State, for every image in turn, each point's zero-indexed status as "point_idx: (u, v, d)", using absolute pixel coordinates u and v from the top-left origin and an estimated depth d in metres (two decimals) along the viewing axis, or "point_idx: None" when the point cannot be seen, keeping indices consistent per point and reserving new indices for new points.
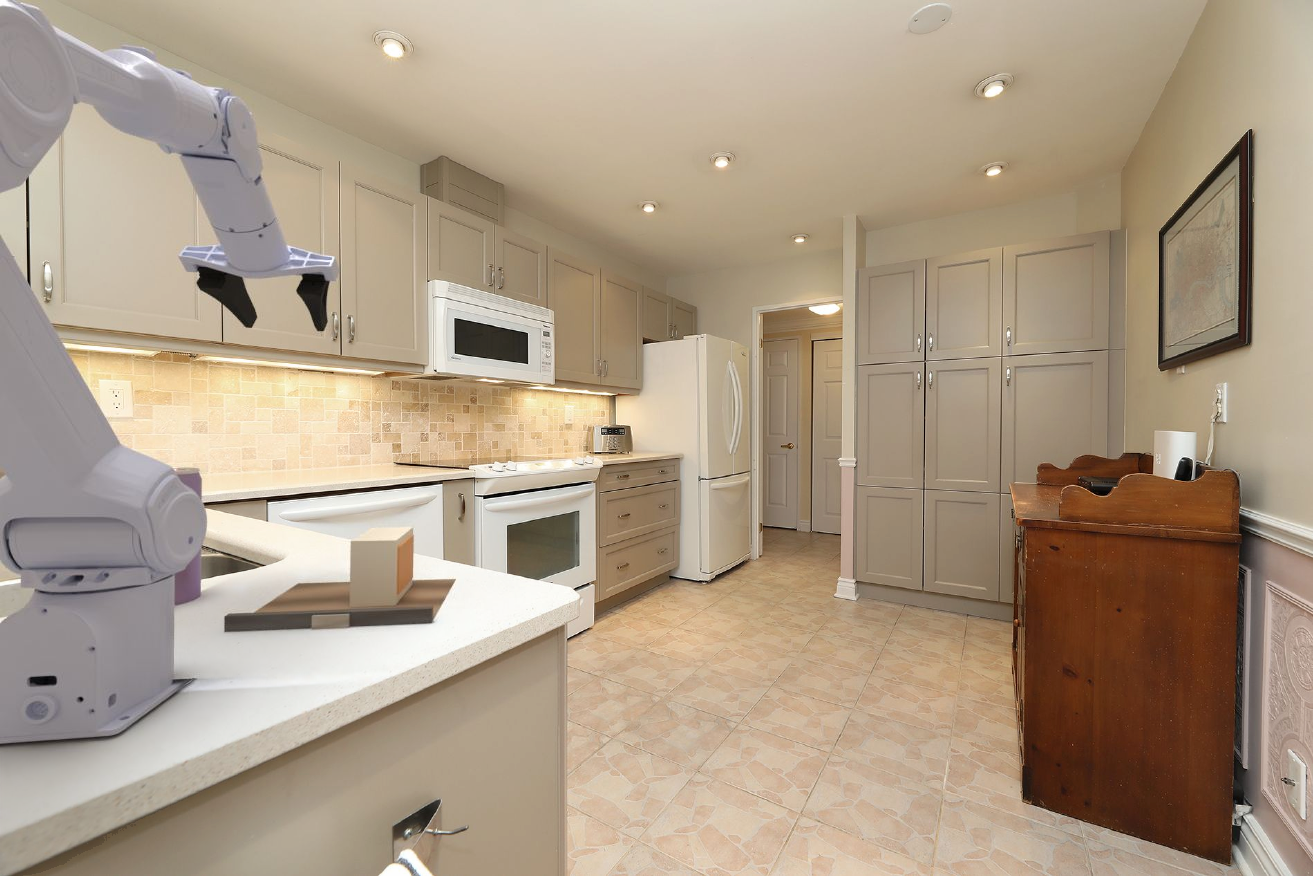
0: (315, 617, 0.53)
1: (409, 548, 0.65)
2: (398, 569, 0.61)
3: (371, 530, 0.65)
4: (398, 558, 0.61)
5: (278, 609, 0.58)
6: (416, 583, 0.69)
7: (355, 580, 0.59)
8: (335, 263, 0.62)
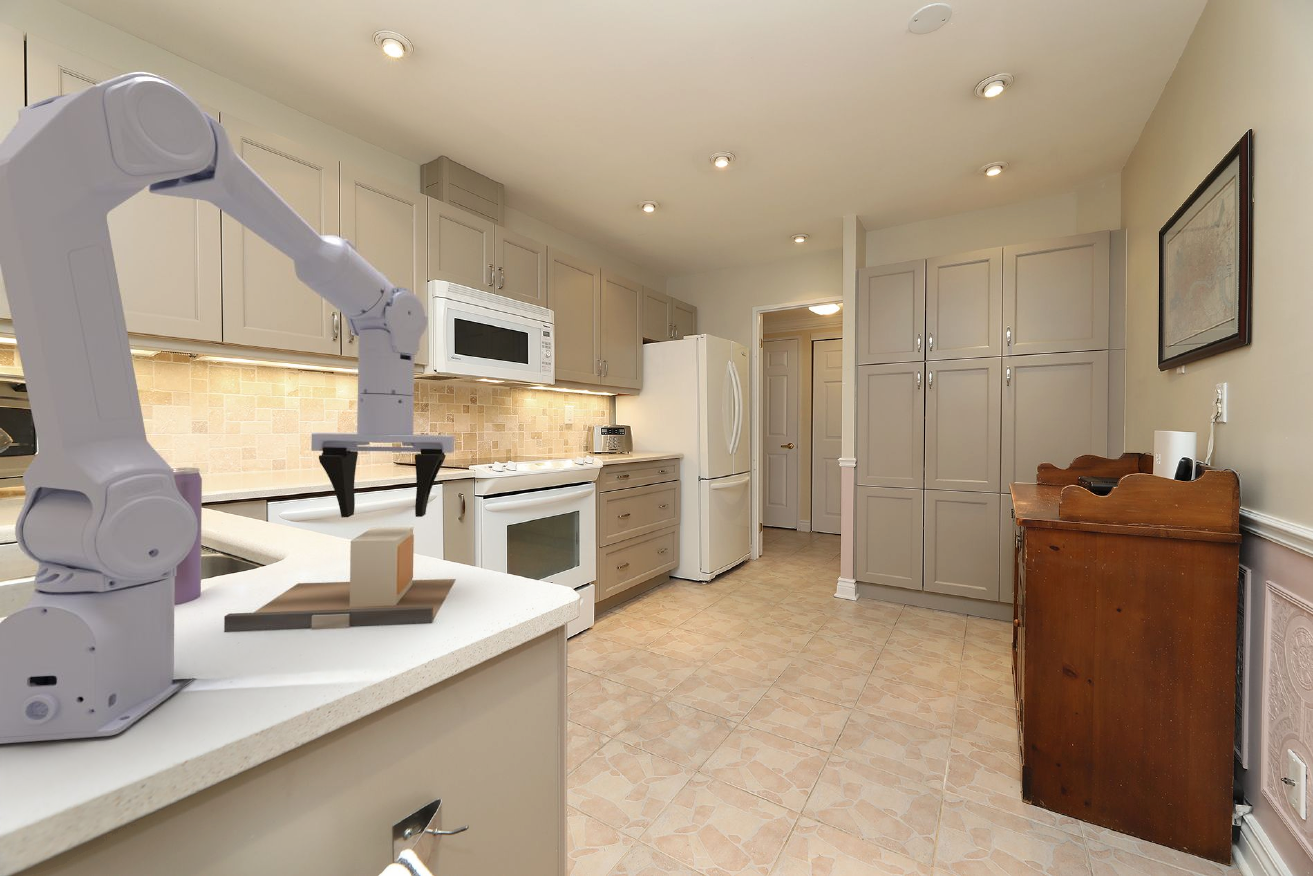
0: (315, 617, 0.53)
1: (409, 548, 0.65)
2: (398, 569, 0.61)
3: (371, 530, 0.65)
4: (398, 558, 0.61)
5: (278, 609, 0.58)
6: (416, 583, 0.69)
7: (355, 580, 0.59)
8: None
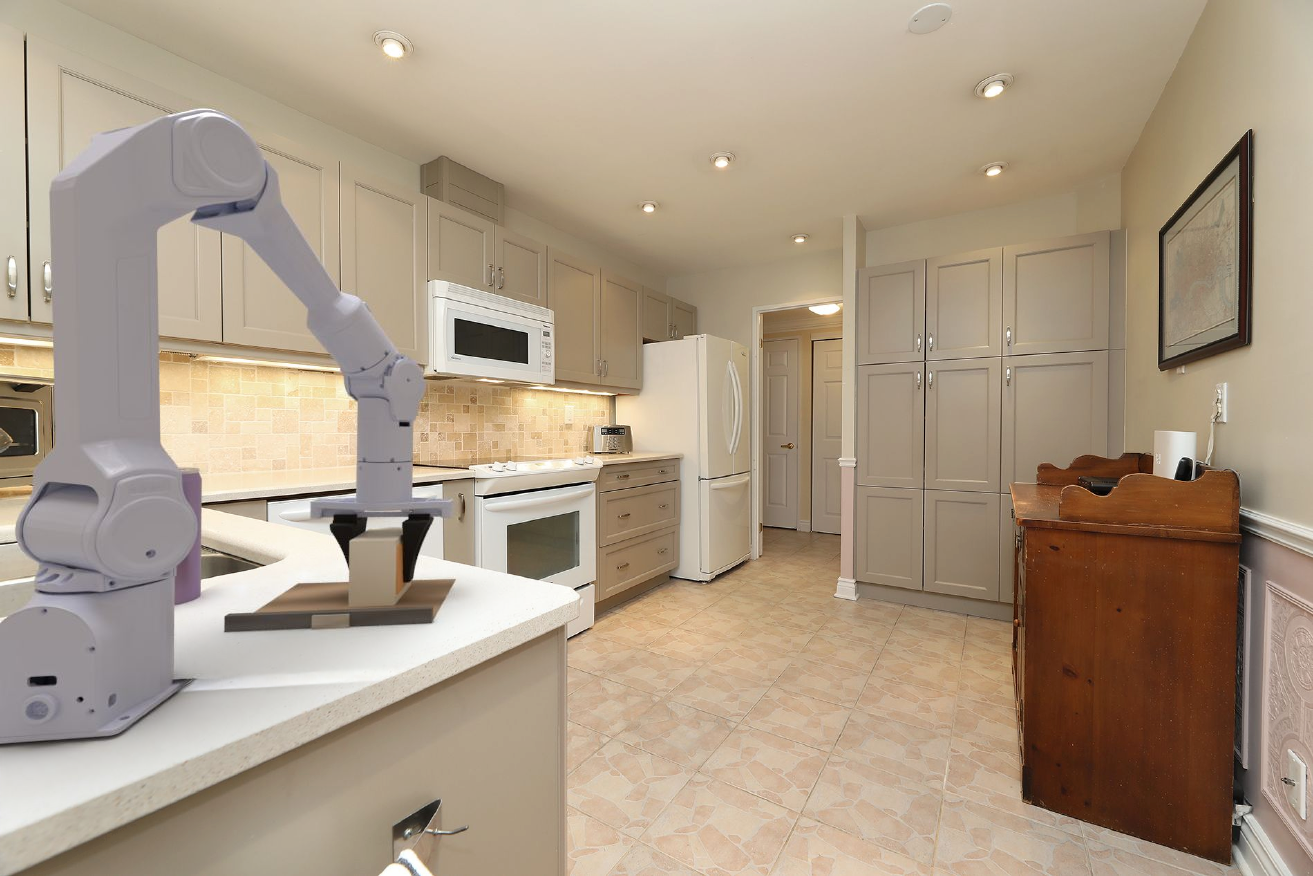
0: (315, 617, 0.53)
1: None
2: (397, 569, 0.61)
3: (370, 530, 0.65)
4: (397, 558, 0.61)
5: (278, 609, 0.58)
6: (416, 583, 0.69)
7: (354, 580, 0.59)
8: (452, 504, 0.65)
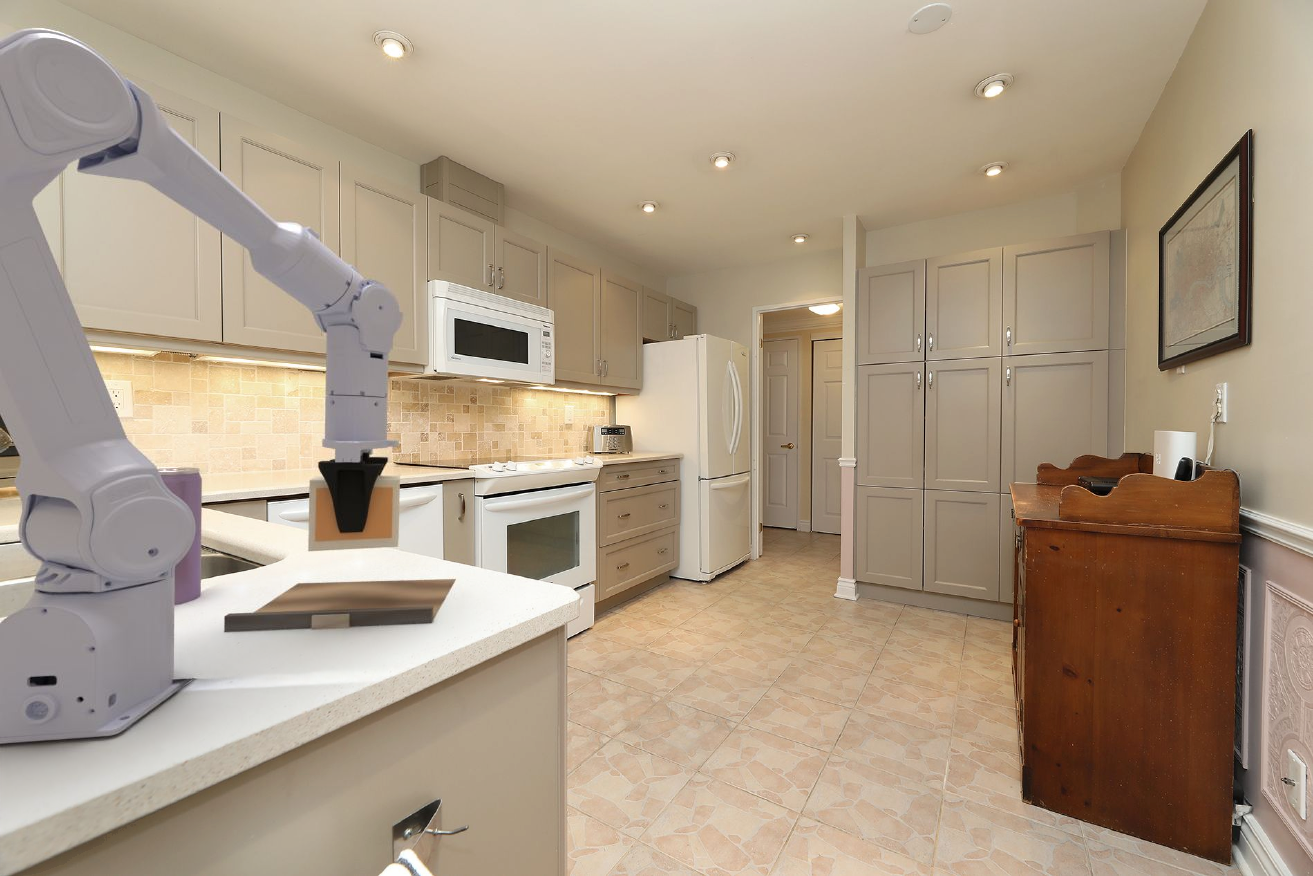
0: (315, 617, 0.53)
1: None
2: (316, 513, 0.55)
3: (378, 476, 0.61)
4: (316, 501, 0.55)
5: (278, 609, 0.58)
6: (416, 583, 0.69)
7: None
8: (352, 447, 0.52)
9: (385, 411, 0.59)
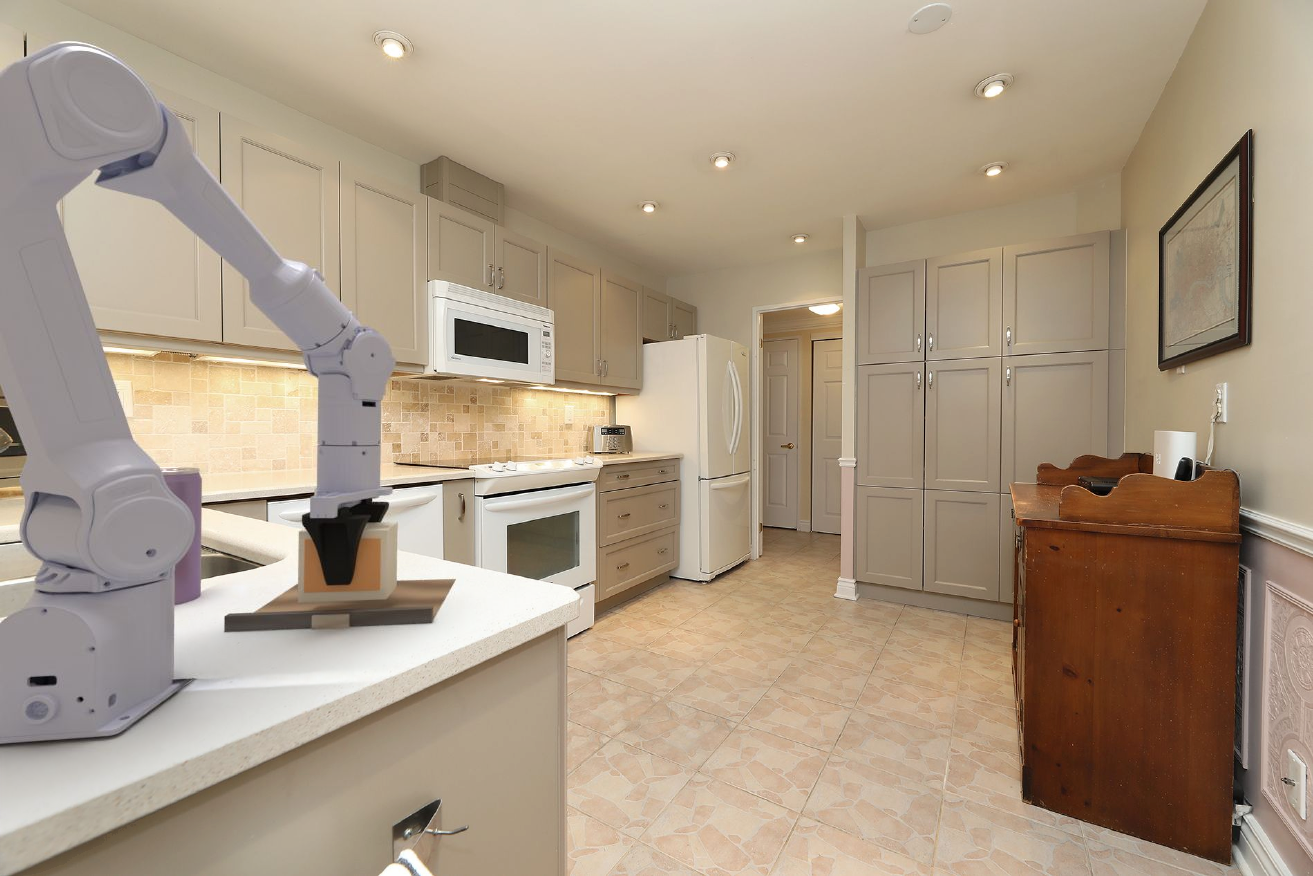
0: (315, 617, 0.53)
1: None
2: (305, 565, 0.55)
3: (375, 523, 0.60)
4: (304, 552, 0.55)
5: (278, 609, 0.58)
6: (416, 583, 0.69)
7: None
8: (326, 502, 0.51)
9: (376, 459, 0.57)
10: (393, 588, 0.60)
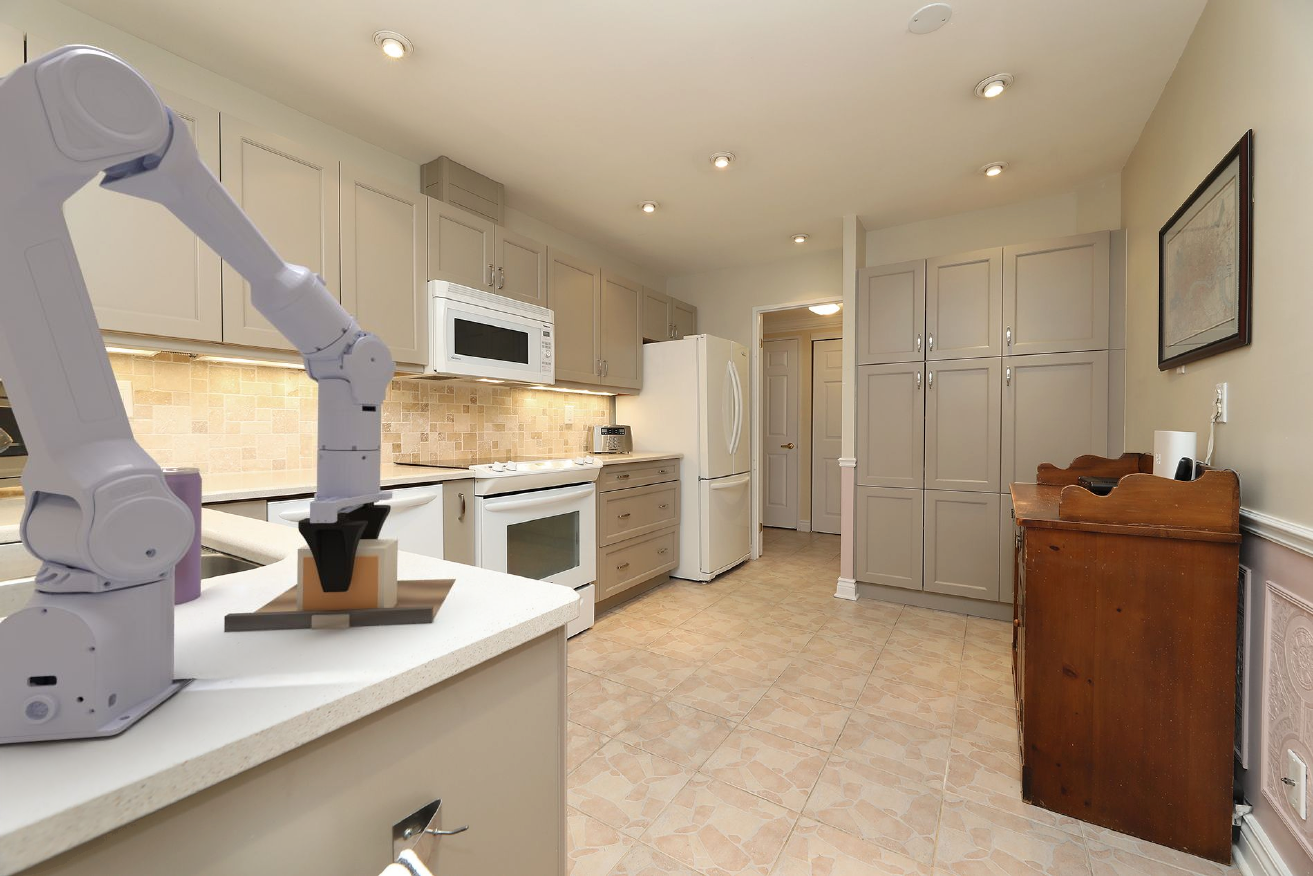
0: (315, 617, 0.53)
1: (354, 569, 0.56)
2: (303, 582, 0.55)
3: (375, 540, 0.60)
4: (303, 570, 0.55)
5: (278, 609, 0.58)
6: (416, 583, 0.69)
7: None
8: (326, 507, 0.51)
9: (376, 464, 0.57)
10: (392, 605, 0.60)
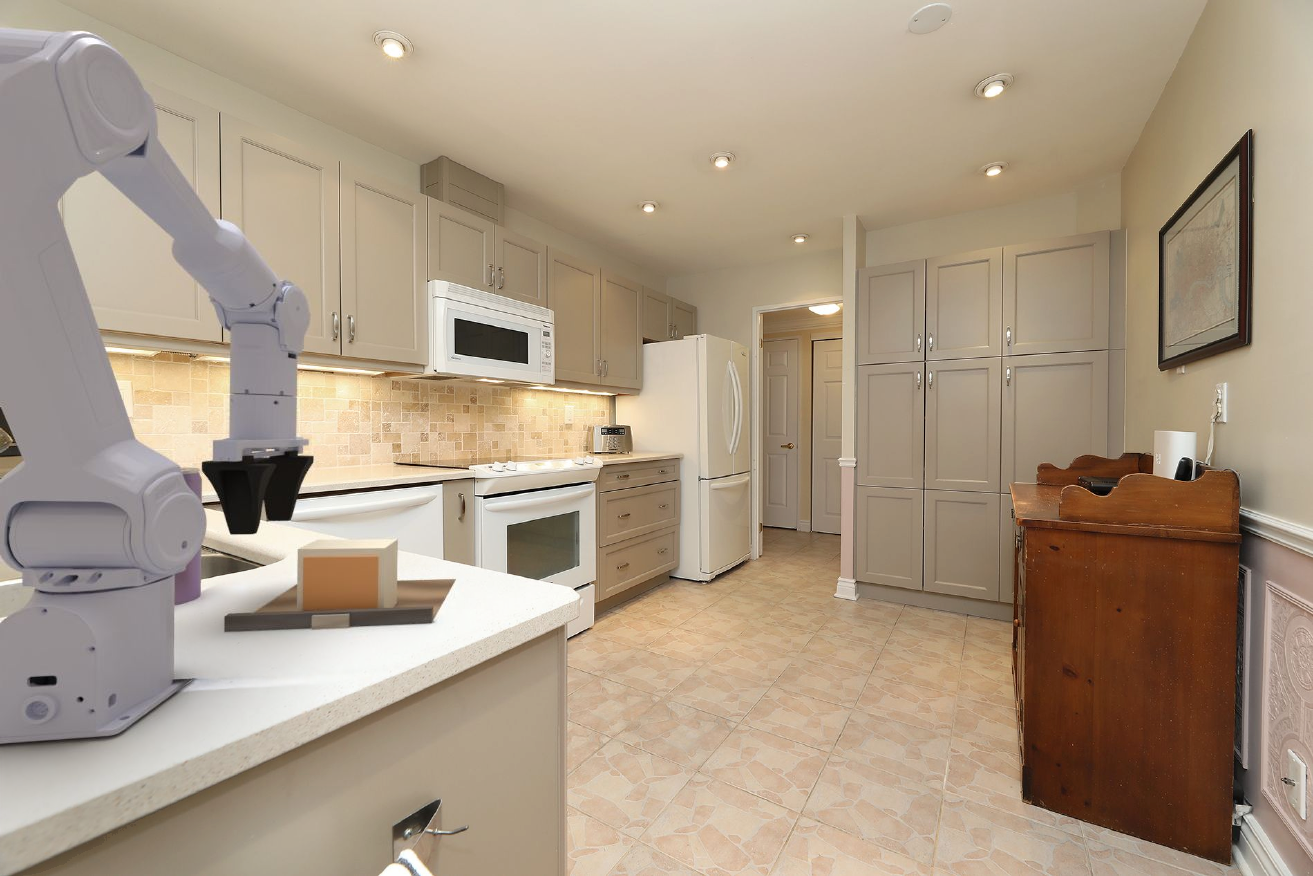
0: (315, 617, 0.53)
1: (354, 569, 0.56)
2: (303, 582, 0.55)
3: (375, 540, 0.60)
4: (303, 570, 0.55)
5: (278, 609, 0.58)
6: (416, 583, 0.69)
7: None
8: (229, 446, 0.51)
9: (290, 410, 0.58)
10: (392, 605, 0.60)
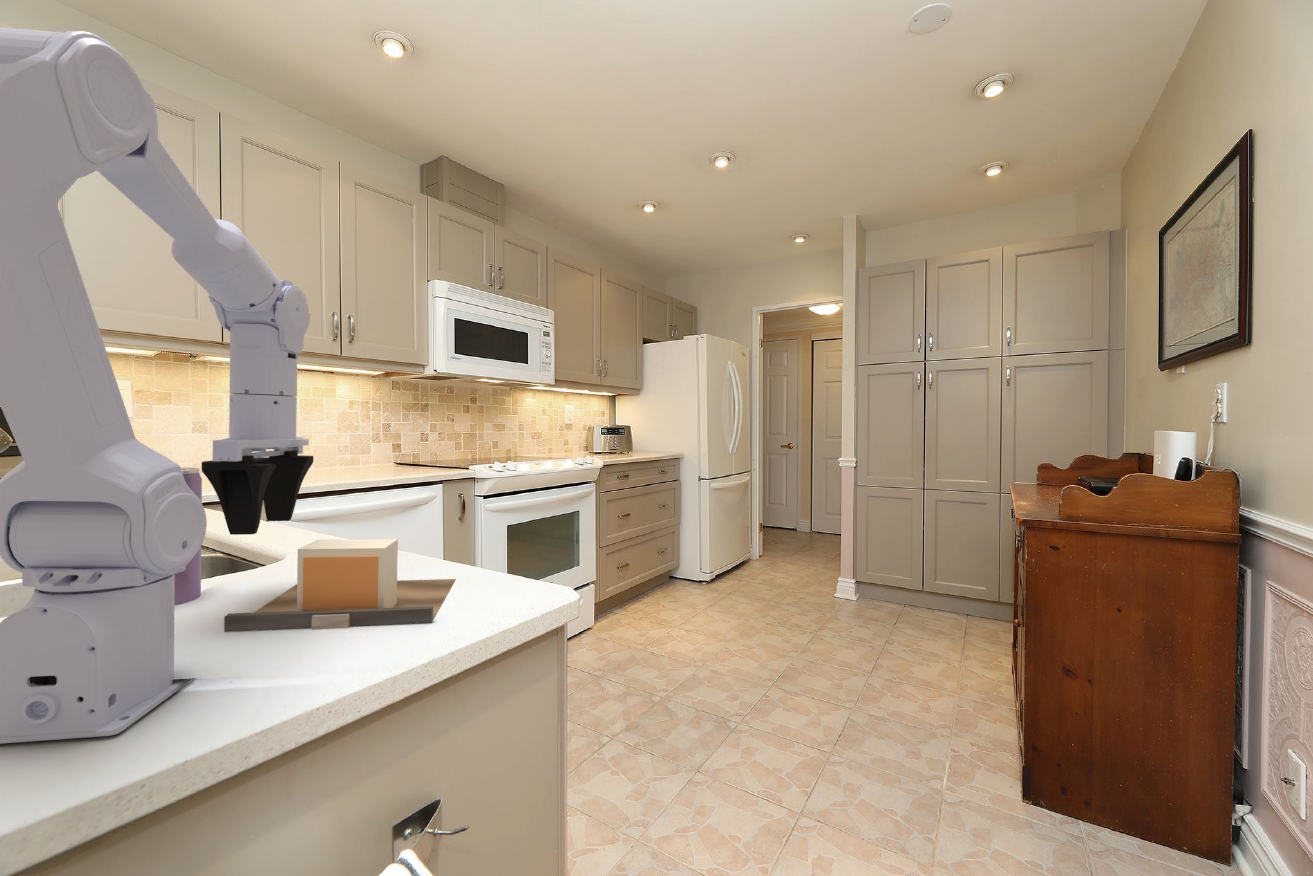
0: (315, 617, 0.53)
1: (354, 569, 0.56)
2: (303, 582, 0.55)
3: (375, 540, 0.60)
4: (303, 570, 0.55)
5: (278, 609, 0.58)
6: (416, 583, 0.69)
7: None
8: (229, 446, 0.51)
9: (289, 410, 0.58)
10: (392, 605, 0.60)
